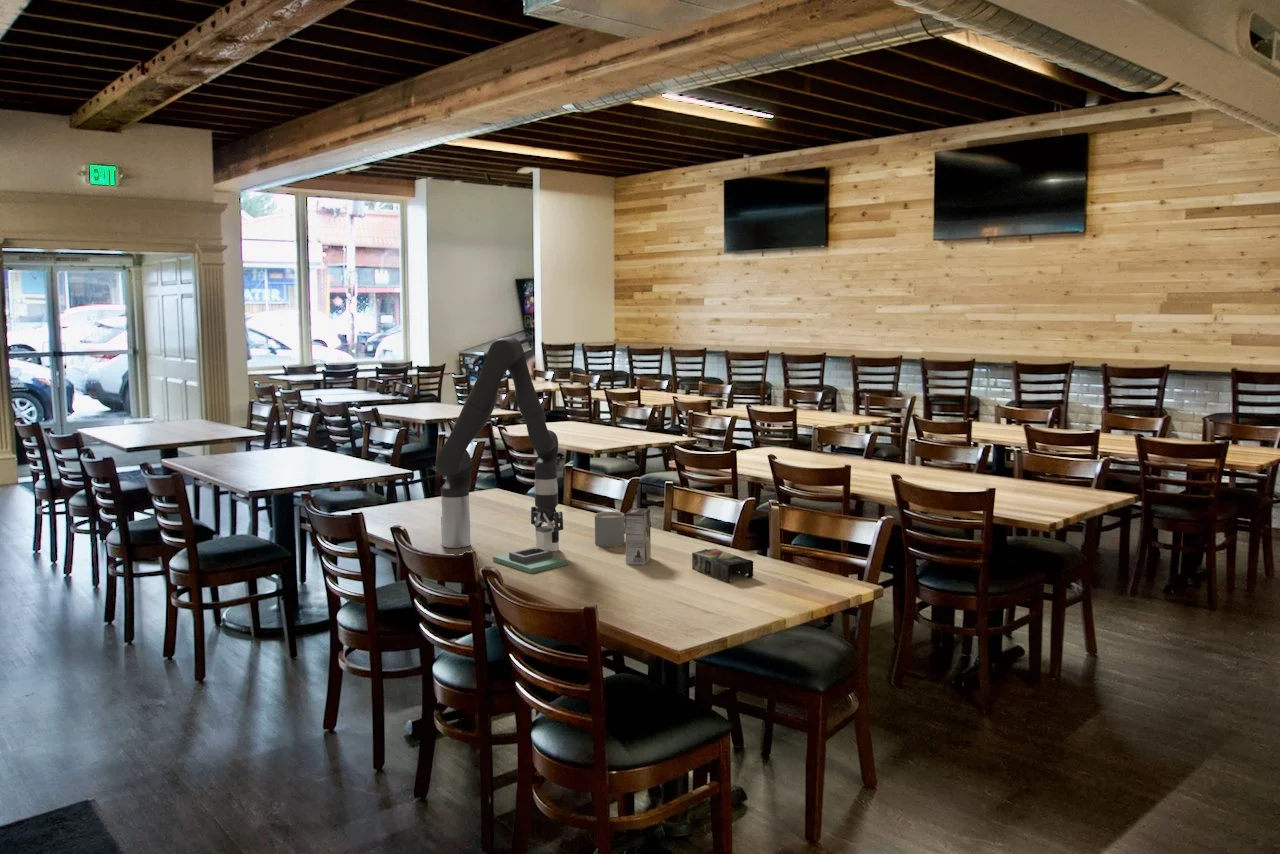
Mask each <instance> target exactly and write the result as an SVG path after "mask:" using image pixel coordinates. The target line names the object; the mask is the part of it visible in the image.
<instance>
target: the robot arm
mask: <svg viewBox="0 0 1280 854" xmlns="http://www.w3.org/2000/svg"><path fill="white" fill-rule="evenodd" d="M507 370H508V372H509V374H510V376H511V378H512V382H513V385H514V390H515V398H516V402H517V406H518V410H519V412H520V414H521V416H522V418H523V420H524V423H525V425H526V430H527V434H528V438H529V441H530V445H531V446H532V448H533V450H534V451H535V452H536V453H537V460H536V462H535V464H534V479H535V480H534V506H531V508H530V524H531V525H533V526H534V528H535V529H536V528H538V527H542V526H543V525H544V523H545V524H547V525H548V526H550V527H551V530H552V543H557V542H558V541H559V542H560V531H562V530H564V519H563V517H564V516H563V515H564V513H563V511H557V510H556V507H557V506H558V505H559V488H558V486H559V485H558V477H557V476H558V474H557V473H558V472H557V469H558V468H557V461H558V453H559V439H558V435H557V434H556V433H555V432H554V431H553V430H551V429H548V426H547V424H546V420H547V416H546V413H545V411H544V408H543V406H542V404H541V401H540V399H539V397H538V393H537V391H536V389H535V386H534V383H533V379H532V376H531V374H530V370H529V367H528V363H527V358H526V355H525V351H524V347H523V345H522V343H521V342H520V340H518V339H517V338H514V337H511V336H509V337H508V336H507V337H501V338H498V339H495V340H494V341H493V342H492V343H491V344H490V346H489V348H488V351H487V354H486V355H485V359H484V362H483V365H482V368H481V370H480V373H479V375H478V377H477V378H476V380H475V383H474V384H473V387H472V388H471V390H470V393H469V394H468V396H467V398H466V400H465V402H464V403H463V407H462V409H461V411H460V413H459V415H458V417H457V420H456V421H455V423H454V426H453V428H452V429H451V432H450V434H449V435H448V437H447V439H446V441H445V442H444V444H443V445H442V447H441V449H440V451H439V452H438V453H437V456H436V459H435V468H436V471H437V472H438V474H439V475H441V476H442V477H446V479H445V482H444V483H443V485H442V486H441V487H440V497H441V498H440V499H441V500H440V501H441V503H440V504H441V517H440V526H441V530H440V531H441V532H440V533H441V544H442V546H443V548H449V549H460V548H461V547H462V548H465V547H469V546H471V544H472V543H471V541H472V540H471V516H470V515H471V513H470V509H471V508H470V489H471V485H472V458H471V455H470V453H469V451H468V450H467V449H468V447H469V445H470V443H471V442H472V441H473V440H474V439H475V438H476V437H477V435H478V434H479V433H480V432H481V431H482V430H483V428H484V427H485V426H486V424H487V422H488V421H489V420H490V418H491V415H492V414H493V411H494V409H495V408H496V407H495V406H496V405H497V404H496V403H497V399H498V394H499V393H498V392H499V386H500V383H501V381H502V380H503V377H504V376H505V375H506V372H507ZM554 526H555V528H554Z"/></svg>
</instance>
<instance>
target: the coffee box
mask: <svg viewBox="0 0 1280 854" xmlns="http://www.w3.org/2000/svg"><path fill="white" fill-rule="evenodd" d="M624 517H625V523H624V526H625V529H626V533H625V564H626V565H639V564H644V565H646V564H647V563H648V562H649V560H650V559H651V557H652V553H651V550H652V549H651V548H652V545H651V542H652V541H651V508H643V507H641V508H639V507H637V508H635V507H633V508H630V509H629V510H628V511H627V512H626V513H624ZM644 565H643V566H644Z"/></svg>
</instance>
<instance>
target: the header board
mask: <svg viewBox="0 0 1280 854" xmlns="http://www.w3.org/2000/svg"><path fill="white" fill-rule="evenodd" d="M492 562H495V563H497V562H498V564H500V563H501V564H500V565H503V564H504V566H506V565H507V566H506V567H509V566H510V568H512V567H513V569H515V568H516V570H518V569H519V570H518V571H522V570H523V571H522V572H525V573H528V574H534V573H535V574H536V573H539V572H538V571H540V572H543V570H544V571H547V569H548V570H552V569H556V568H560V566H561V567H564V565H565V566H568V559H564V558H561V557H558V556H554V553H553V551H551V550H548V549H544V548H541V547H536V546H533V547H530V548H529V547H528V548H524V549H520V550H519V549H518V550H515V551H511V552H507V553H503V554H499V555H494V556H492ZM555 567H556V568H555ZM551 568H552V569H551Z"/></svg>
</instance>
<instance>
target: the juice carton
mask: <svg viewBox="0 0 1280 854" xmlns="http://www.w3.org/2000/svg"><path fill="white" fill-rule="evenodd" d="M691 569H692V570H695V571H697V572H698V573H702V574H704V575H707V576H709V577H712V578H714V579H716V580H717V579H718V580H719V581H722V582H723V583H727V584H731V583H732V581H731V578H732V577H731V576H732V573H733V572H735V573H740V574H741V575H742V576H746V578H747V579H751V578H753V577H754V561H753V560H751V559H747V558H744V557H741V556H739V555H736V554H732V553H730V552H727V551H724V550H721V549H717V548H709V549H707V548H705V549H702V550H699V551H693V552H691Z"/></svg>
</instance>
